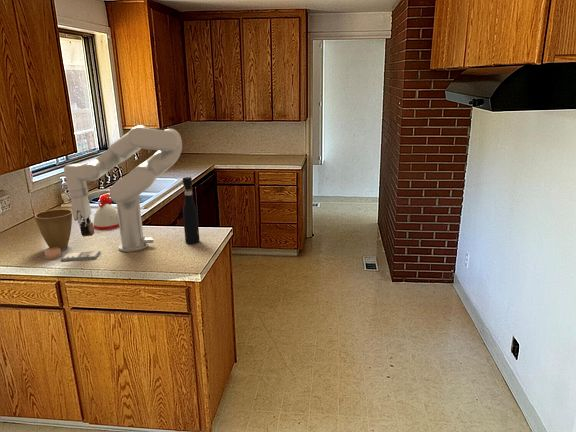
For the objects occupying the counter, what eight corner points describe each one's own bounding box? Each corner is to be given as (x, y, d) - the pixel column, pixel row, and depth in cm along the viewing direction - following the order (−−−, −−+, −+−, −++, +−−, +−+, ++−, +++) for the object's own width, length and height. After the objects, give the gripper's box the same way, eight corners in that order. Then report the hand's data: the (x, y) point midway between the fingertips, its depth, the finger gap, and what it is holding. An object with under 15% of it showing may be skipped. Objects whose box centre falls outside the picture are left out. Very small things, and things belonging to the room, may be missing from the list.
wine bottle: (184, 241, 210) (178, 177, 202) (198, 239, 213) (192, 176, 204) (187, 245, 204) (181, 179, 196) (201, 243, 207) (195, 178, 199)
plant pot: (39, 254, 197) (32, 219, 192) (42, 244, 210) (36, 211, 206) (76, 249, 202) (71, 215, 198) (77, 240, 215) (72, 207, 211)
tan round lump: (63, 254, 197) (62, 246, 196) (58, 259, 192) (57, 251, 191) (48, 255, 197) (47, 247, 196) (43, 260, 191) (42, 252, 190)
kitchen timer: (127, 223, 240) (124, 196, 236) (107, 231, 228) (103, 202, 224) (109, 220, 246) (105, 193, 242) (88, 227, 235) (83, 199, 231)
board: (100, 253, 197) (100, 250, 197) (96, 258, 191) (95, 256, 190) (66, 255, 196) (66, 252, 195) (61, 261, 189) (60, 258, 189)
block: (94, 232, 201) (92, 222, 200) (92, 235, 198) (89, 224, 196) (85, 233, 201) (83, 223, 200) (82, 236, 197) (80, 225, 196)
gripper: (75, 189, 202) (84, 228, 207) (63, 198, 186) (72, 240, 191) (93, 187, 202) (101, 226, 207) (81, 196, 186) (90, 238, 192)
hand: (87, 232), depth 199 cm, fingers closed on block, 3 cm apart
